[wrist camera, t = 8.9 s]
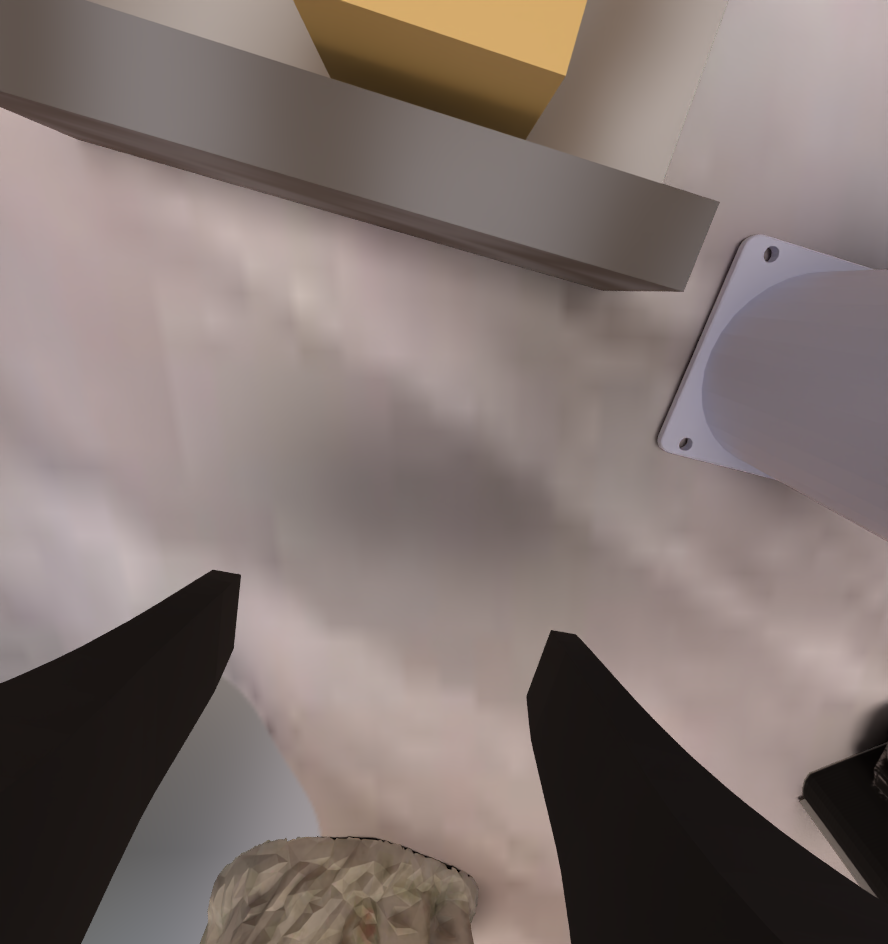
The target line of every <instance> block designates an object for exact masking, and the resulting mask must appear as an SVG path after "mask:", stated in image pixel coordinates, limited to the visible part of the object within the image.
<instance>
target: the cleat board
mask: <svg viewBox="0 0 888 944" xmlns="http://www.w3.org/2000/svg"><path fill="white" fill-rule="evenodd" d="M728 1H729V0H587V3H586V6H585V10H584V13H583V17H582V20H581V24H580V27H579V31H578V34H577V38H576V41H575V45H574V48H573V52H572V55H571V59H570V62H569V66H568V70H567V73H566V76H565V78H564V79H563V81H562V83H561V84H560V86H559V87H558V89H557V90H556V92H555V94H554V95H553V97H552V98H551V100H550V102H549V103H548V105H547V106H546V108H545V110H544V111H543V113H542V114H541V116H540V117H539V119H538V121H537V122H536V124H535V125H534V127H533V129H532V130H531V132H530V133H529V135H528V136H527V138H526V140H523V139H520V138H517V137H514V136H511V135H508V134H504V133H501V132H498V131H495V130H492V129H489V128H486V127H482V126H479V125H476V124H473V123H470V122H467V121H464V120H460V119H457V118H454V117H451V116H448V115H445V114H442V113H438V112H435V111H432V110H429V109H426V108H423V107H420V106H416V105H413V104H410V103H407V102H404V101H401V100H398V99H394V98H391V97H388V96H385V95H382V94H379V93H376V92H372V91H369V90H366V89H363V88H360V87H357V86H354V85H351V84H347V83H344V82H341V81H338V80H335V79H332V78H330V76H329V74H328V72H327V70H326V68H325V66H324V64H323V62H322V59H321V57H320V55H319V53H318V51H317V49H316V47H315V45H314V43H313V41H312V39H311V37H310V35H309V32H308V30H307V28H306V26H305V24H304V22H303V20H302V18H301V16H300V14H299V12H298V10H297V8H296V6H295V3H294V1H293V0H0V107H2V108H4V109H6V110H9V111H11V112H14V113H16V114H18V115H21V116H23V117H25V118H28V119H30V120H33V121H35V122H37V123H40V124H42V125H44V126H47V127H49V128H52V129H54V130H56V131H59V132H61V133H64V134H66V135H68V136H71V137H73V138H75V139H79V140H82V141H85V142H89V143H92V144H96V145H99V146H103V147H106V148H110V149H113V150H117V151H120V152H124V153H127V154H131V155H134V156H138V157H141V158H144V159H148V160H151V161H155V162H158V163H162V164H165V165H169V166H172V167H176V168H179V169H183V170H186V171H190V172H193V173H197V174H200V175H204V176H207V177H210V178H214V179H217V180H221V181H224V182H228V183H231V184H235V185H238V186H242V187H245V188H249V189H252V190H256V191H259V192H263V193H266V194H270V195H273V196H276V197H280V198H283V199H287V200H290V201H294V202H297V203H301V204H304V205H308V206H311V207H315V208H318V209H322V210H325V211H329V212H332V213H335V214H339V215H342V216H346V217H349V218H353V219H356V220H360V221H363V222H367V223H370V224H374V225H377V226H381V227H384V228H388V229H391V230H395V231H398V232H401V233H405V234H408V235H412V236H415V237H419V238H422V239H426V240H429V241H433V242H436V243H440V244H443V245H447V246H450V247H454V248H457V249H460V250H464V251H467V252H471V253H474V254H478V255H481V256H485V257H488V258H492V259H495V260H499V261H502V262H506V263H509V264H513V265H516V266H520V267H523V268H526V269H530V270H533V271H537V272H540V273H544V274H547V275H551V276H554V277H558V278H561V279H565V280H568V281H572V282H575V283H579V284H582V285H585V286H589V287H592V288H596V289H599V290H603V291H674V292H684V289H685V287H686V284H687V282H688V279H689V277H690V274H691V272H692V269H693V267H694V264H695V262H696V259H697V257H698V254H699V252H700V250H701V247H702V245H703V242H704V240H705V237H706V235H707V232H708V230H709V227H710V225H711V222H712V220H713V217H714V215H715V212H716V210H717V207H718V205H719V202H718V201H715V200H712V199H709V198H706V197H702V196H699V195H696V194H693V193H690V192H687V191H684V190H680V189H677V188H674V187H671V186H668V185H665V184H662V183H663V180H664V178H665V175H666V172H667V169H668V166H669V164H670V161H671V158H672V155H673V153H674V150H675V147H676V144H677V142H678V139H679V136H680V133H681V131H682V128H683V125H684V122H685V120H686V117H687V114H688V111H689V109H690V106H691V103H692V100H693V98H694V95H695V92H696V89H697V87H698V84H699V81H700V78H701V76H702V73H703V70H704V67H705V65H706V62H707V59H708V56H709V54H710V51H711V48H712V45H713V43H714V40H715V37H716V34H717V32H718V29H719V26H720V23H721V21H722V18H723V15H724V12H725V10H726V7H727V4H728Z"/></svg>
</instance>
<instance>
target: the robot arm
mask: <svg viewBox="0 0 888 944" xmlns="http://www.w3.org/2000/svg"><path fill="white" fill-rule="evenodd" d="M768 247H769V248H770V249H771V252H772V255H771V258H770V259H769V261H767V262H766V261H765V260H764V252H765V251H766V249H767V248H768ZM684 438H687V439H688V441H687V444H686V445H685V446H684V447H681V448H680V447H679V443H680V441H681V440H682V439H684ZM657 441H658V445H659V447H660V448H661V449H663V450H664V451H666V452H668V453H671V454H675V455H679V456H683V457H687V458H691V459H695V460H699V461H703V462H707V463H711V464H715V465H719V466H723V467H727V468H731V469H735V470H739V471H743V472H747V473H751V474H755V475H758V476H762V477H766V478H770V479H774V480H778V481H780V482H782V483H783V484H785V485H787V486H789V487H791V488H792V489H794V490H796V491H798V492H800V493H801V494H803V495H805V496H807V497H809V498H810V499H812V500H814V501H816V502H818V503H819V504H821V505H823V506H825V507H827V508H828V509H830V510H832V511H834V512H836V513H837V514H839V515H841V516H843V517H845V518H846V519H848V520H850V521H852V522H854V523H855V524H857V525H859V526H861V527H863V528H864V529H866V530H868V531H870V532H872V533H873V534H875V535H877V536H879V537H881V538H882V539H884V540H886V541H888V269H879V270H875V269H872V268H869V267H866V266H863V265H860V264H856V263H853V262H850V261H847V260H844V259H840V258H837V257H834V256H831V255H828V254H824V253H821V252H818V251H815V250H812V249H808V248H805V247H802V246H799V245H796V244H793V243H789V242H786V241H783V240H780V239H777V238H773V237H770V236H767V235H762V234H757V235H752V236H750V237H747V238H746V239H745V240H744V241H743V242H742V243H741V245H740V246H739V248H738V251H737V253H736V255H735V258H734V260H733V262H732V265H731V267H730V269H729V272H728V274H727V276H726V279H725V281H724V283H723V286H722V288H721V290H720V293H719V295H718V297H717V300H716V302H715V304H714V307H713V309H712V311H711V314H710V316H709V318H708V321H707V323H706V325H705V328H704V330H703V332H702V335H701V337H700V340H699V342H698V344H697V347H696V349H695V351H694V354H693V356H692V358H691V361H690V363H689V365H688V368H687V370H686V372H685V375H684V377H683V379H682V382H681V384H680V386H679V389H678V391H677V393H676V396H675V398H674V400H673V403H672V405H671V407H670V410H669V412H668V414H667V417H666V419H665V421H664V424H663V426H662V428H661V431H660V433H659V435H658V440H657ZM240 579H241V575H240V574H234V573H228V572H223V571H217V570H212V571H210V572H208V573H207V574H205V575H203V576H202V577H200V578H198V579H197V580H195V581H194V582H192V583H190V584H189V585H187V586H186V587H184V588H182V589H181V590H179V591H178V592H176V593H174V594H173V595H171V596H169V597H168V598H166V599H165V600H163V601H161V602H160V603H158V604H156V605H155V606H153V607H151V608H150V609H148V610H146V611H145V612H143V613H141V614H140V615H138V616H136V617H135V618H133V619H131V620H130V621H128V622H126V623H124V624H122V625H120V626H119V627H117V628H115V629H113V630H111V631H109V632H108V633H106V634H104V635H102V636H100V637H98V638H96V639H95V640H93V641H91V642H89V643H87V644H85V645H84V646H82V647H80V648H78V649H76V650H74V651H72V652H69V653H67V654H65V655H63V656H61V657H59V658H57V659H55V660H53V661H51V662H48V663H46V664H44V665H42V666H40V667H37V668H35V669H33V670H31V671H28V672H26V673H24V674H22V675H19V676H17V677H15V678H12V679H10V680H8V681H5V682H3V683H0V944H81V942H82V940H83V938H84V936H85V934H86V932H87V930H88V928H89V926H90V923H91V921H92V919H93V917H94V915H95V913H96V911H97V908H98V906H99V904H100V902H101V900H102V898H103V895H104V893H105V891H106V889H107V887H108V885H109V883H110V881H111V878H112V876H113V874H114V872H115V870H116V868H117V866H118V864H119V862H120V860H121V858H122V856H123V854H124V852H125V850H126V847H127V845H128V843H129V841H130V839H131V837H132V835H133V833H134V831H135V829H136V827H137V825H138V823H139V821H140V819H141V817H142V815H143V813H144V811H145V809H146V808H147V805H148V804H149V802H150V800H151V798H152V797H153V795H154V793H155V791H156V790H157V788H158V786H159V785H160V783H161V781H162V779H163V778H164V776H165V774H166V773H167V771H168V769H169V767H170V766H171V764H172V762H173V761H174V759H175V758H176V756H177V754H178V753H179V751H180V749H181V748H182V746H183V744H184V742H185V740H186V739H187V738H188V736H189V734H190V732H191V731H192V729H193V727H194V725H195V724H196V722H197V721H198V719H199V717H200V715H201V714H202V712H203V710H204V709H205V707H206V705H207V704H208V702H209V700H210V698H211V697H212V695H213V693H214V691H215V689H216V687H217V685H218V683H219V681H220V678H221V676H222V674H223V672H224V669H225V667H226V665H227V663H228V660H229V658H230V656H231V653H232V651H233V649H234V640H235V630H236V620H237V609H238V599H239V589H240ZM527 707H528V718H529V727H530V735H531V742H532V746H533V751H534V755H535V760H536V764H537V768H538V773H539V777H540V781H541V785H542V790H543V794H544V798H545V802H546V806H547V811H548V815H549V819H550V823H551V827H552V832H553V836H554V840H555V844H556V849H557V854H558V859H559V864H560V869H561V875H562V882H563V888H564V895H565V902H566V909H567V916H568V923H569V930H570V938H571V944H888V904H886V903H885V902H883V901H882V900H880V899H878V898H877V897H875V896H874V895H872V894H870V893H869V892H867V891H866V890H864V889H863V888H861V887H860V886H858V885H857V884H855V883H854V882H852V881H851V880H849V879H848V878H846V877H845V876H843V875H842V874H841V873H839V872H838V871H836V870H835V869H833V868H832V867H830V866H829V865H828V864H826V863H825V862H823V861H822V860H820V859H819V858H818V857H816V856H815V855H813V854H812V853H810V852H809V851H808V850H806V849H805V848H804V847H802V846H801V845H799V844H798V843H797V842H795V841H794V840H793V839H791V838H790V837H789V836H787V835H786V834H784V833H783V832H782V831H780V830H779V829H778V828H777V827H775V826H774V825H773V824H772V823H770V822H769V821H768V820H766V819H765V818H764V817H763V816H761V815H760V814H759V813H757V812H756V811H755V810H754V809H752V808H751V807H750V806H749V805H747V804H746V803H745V802H744V801H742V800H741V799H740V798H739V797H737V796H736V795H735V794H734V793H733V792H731V791H730V790H729V789H728V788H727V787H725V786H724V785H723V784H722V783H721V782H720V781H719V780H718V779H716V778H715V777H714V776H713V775H712V774H711V773H710V772H708V771H707V770H706V769H705V768H704V767H703V766H702V765H701V764H699V763H698V762H697V761H696V760H695V759H694V758H693V757H692V756H691V755H690V754H688V753H687V752H686V751H685V750H684V749H683V748H682V747H681V746H680V745H679V744H678V743H677V742H676V741H675V740H674V739H673V738H672V737H671V736H670V735H669V734H668V733H667V732H666V731H665V730H664V729H663V728H662V727H661V726H660V725H659V724H658V723H657V722H656V721H655V720H654V719H653V718H652V717H651V716H650V715H649V714H648V713H647V712H646V711H645V710H644V709H643V708H642V706H641V705H640V704H639V703H638V702H637V701H636V700H635V699H634V698H633V697H632V696H631V695H630V694H629V692H628V691H627V690H626V689H625V688H624V687H623V686H622V685H621V684H620V682H619V681H618V680H617V679H616V678H615V677H614V676H613V675H612V674H611V672H610V671H609V670H608V669H607V668H606V667H605V666H604V665H603V663H602V662H601V661H600V660H599V659H598V658H597V657H596V656H595V654H594V653H593V652H592V651H591V650H590V649H589V648H588V647H587V646H586V645H585V643H584V642H583V641H582V640H581V639H580V638H579V637H578V636H577V635H576V634H570V633H565V632H559V631H553V630H551V632H550V634H549V637H548V640H547V642H546V645H545V648H544V650H543V653H542V656H541V659H540V661H539V664H538V667H537V669H536V672H535V675H534V677H533V680H532V683H531V685H530V688H529V691H528V694H527Z"/></svg>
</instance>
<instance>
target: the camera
mask: <svg viewBox="0 0 888 944" xmlns="http://www.w3.org/2000/svg"><path fill="white" fill-rule="evenodd" d="M802 795H803V797H804V800H801V801H800V802H801V804H802V806H803V807H804V809H805V810H806V812H807V813H808V814H809V816H810V817H811V819H812V820H813V821H814V823H815V824H816V826H817V827H818V828H819V830H820V831H821V833H822V834H823V835H824V837H825V838H826V840H827V841H828V842H829V844H830V845H831V847H832V848H833V849H834V851H835V852H836V854H837V855H838V856H839V858H840V859H841V861H842V862H843V863H844V865H845V866H846V868H847V869H848V870H849V872H850V873H851V875H852V876H853V877H854V879H855V880H856V882H857V883H858V884H859V886H860V887H861V888H863V889H864V890H866V891H867V892H869V893H870V894H872V895H874V896H875V897H877V898H878V899H880V900H882V901H883V902H885V903H886V904H888V742H887V743H884V744H882V745H879V746H876V747H874V748H871V749H868V750H866V751H863V752H861V753H858V754H855V755H853V756H850V757H848V758H845V759H843V760H840V761H838V762H835V763H833V764H830V765H828V766H825V767H823V768H820V769H818V770H815V771H813V772H810V773H809V774H808V775H807V777H806V778H805V780H804V784H803V787H802Z"/></svg>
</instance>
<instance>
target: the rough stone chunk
mask: <svg viewBox="0 0 888 944" xmlns="http://www.w3.org/2000/svg"><path fill="white" fill-rule="evenodd" d="M477 900H478V888H477V885H476V883H475V881H474V880H473V878H471V876H470V877H468V875H467V873H465V872H464V871H460V872H458V871H457V870H456V869H455V868H453V867H452V869H451V870H450V869H447V867H446V865H445V864H443V863H441V862H440V861H439V860H435V859H433V858H425V857H424V856H423V855H419V854H418V853H415V854H413V852H412V850H411V849H409V848H407V849H406V850H404V847H403V849H402V847H401V845H400V844H396V843H393V844H390V843H389V842H388V841H385V842H382V841H381V840H379V841H378V840H369V839H362V840H360V839H359V838H351V837H348V838H347V839H338V838H336V840H333V839H331V838H330V837H325V838H321V837H318V836H317V837H303V838H300V837H297V839H296V840H295V839H292V840H290V841H288V842H287V839H286V838H285V839H284V840H283V839H278V840H275V841H270V840H267V841H266V842H264V843H263V844H262V845H261V844H259V845H258V846H254V847H253V848H251V849H250V850H248V851H246V852H243V853H241V854H240V855H239V856H238V857H236V858H235V859H234V861H233V862H232V863H231V864H227V865H226V866H225V867H224V869H223V870H222V871H221V872H220V874H219V875H218V877H217V879H216V881H215V883H214V886H213V890H212V894H211V897H210V904H209V908H208V924H207V927H206V929H205V932H204V934H203V937H202V939H201V942H200V944H474V942H473V937H472V932H471V925H470V923H471V922H472V918H473V916H474V915H475V909H476V906H477Z"/></svg>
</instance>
